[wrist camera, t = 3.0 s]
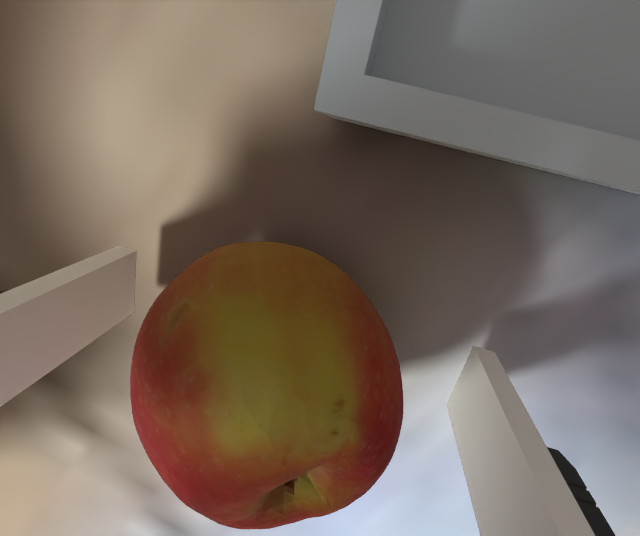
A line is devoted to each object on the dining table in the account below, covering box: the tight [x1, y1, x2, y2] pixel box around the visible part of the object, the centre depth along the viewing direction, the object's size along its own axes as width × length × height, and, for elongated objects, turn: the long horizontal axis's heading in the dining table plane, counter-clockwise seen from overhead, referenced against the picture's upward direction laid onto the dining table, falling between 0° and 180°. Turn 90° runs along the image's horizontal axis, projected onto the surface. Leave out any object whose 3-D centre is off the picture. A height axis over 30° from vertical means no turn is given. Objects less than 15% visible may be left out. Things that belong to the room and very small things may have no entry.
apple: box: [130, 241, 403, 529], centre depth 11 cm, size 8×8×8 cm
